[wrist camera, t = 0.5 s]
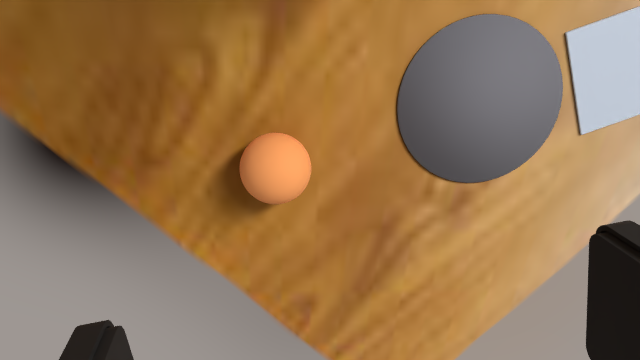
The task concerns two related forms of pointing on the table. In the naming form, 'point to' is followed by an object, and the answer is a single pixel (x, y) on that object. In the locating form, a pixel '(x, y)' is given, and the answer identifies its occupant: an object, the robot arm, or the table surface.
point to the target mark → (479, 98)
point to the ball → (275, 168)
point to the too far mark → (606, 70)
